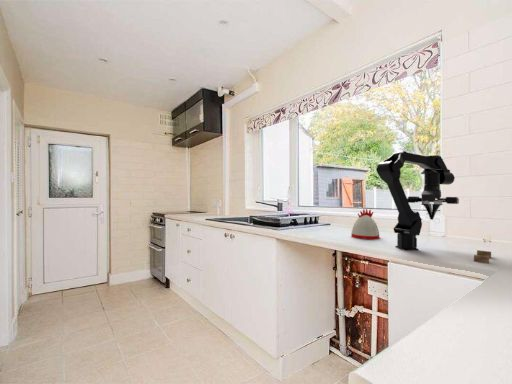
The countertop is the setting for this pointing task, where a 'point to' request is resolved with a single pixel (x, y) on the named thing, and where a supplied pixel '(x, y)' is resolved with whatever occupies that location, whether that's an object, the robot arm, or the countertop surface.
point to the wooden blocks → (482, 256)
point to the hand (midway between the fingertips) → (431, 219)
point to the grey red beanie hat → (365, 227)
